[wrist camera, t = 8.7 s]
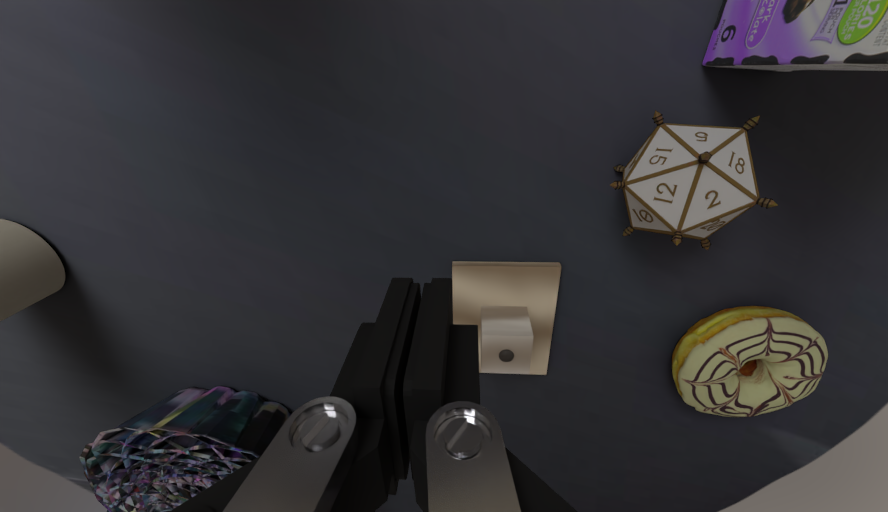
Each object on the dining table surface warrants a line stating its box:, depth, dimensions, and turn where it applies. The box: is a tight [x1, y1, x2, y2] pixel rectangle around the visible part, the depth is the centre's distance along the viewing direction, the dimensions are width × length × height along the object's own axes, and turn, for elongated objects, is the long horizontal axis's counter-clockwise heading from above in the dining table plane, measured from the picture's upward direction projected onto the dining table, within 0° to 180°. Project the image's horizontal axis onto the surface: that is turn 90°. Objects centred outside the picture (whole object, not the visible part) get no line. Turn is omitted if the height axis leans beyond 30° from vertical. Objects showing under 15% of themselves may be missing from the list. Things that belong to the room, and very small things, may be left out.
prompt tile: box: [452, 261, 561, 375], centre depth 31 cm, size 12×9×5 cm
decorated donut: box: [672, 306, 828, 417], centre depth 32 cm, size 11×12×4 cm
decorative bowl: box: [80, 386, 291, 512], centre depth 42 cm, size 26×28×10 cm
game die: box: [610, 110, 779, 250], centre depth 23 cm, size 9×8×10 cm
